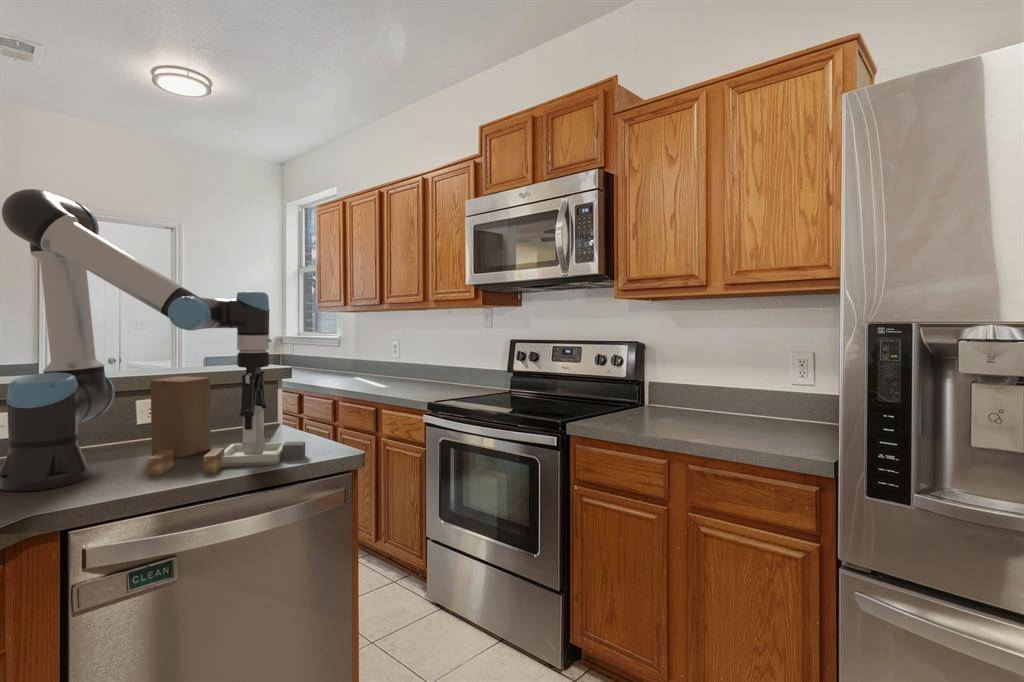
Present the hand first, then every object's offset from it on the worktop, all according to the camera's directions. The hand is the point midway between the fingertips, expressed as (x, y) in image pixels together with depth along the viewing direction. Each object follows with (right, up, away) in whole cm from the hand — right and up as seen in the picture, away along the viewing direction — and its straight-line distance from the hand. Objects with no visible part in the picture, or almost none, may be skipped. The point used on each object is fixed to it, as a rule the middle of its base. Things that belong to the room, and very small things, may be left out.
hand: (253, 437), depth 144 cm
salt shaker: (0, -5, 0) cm, 5 cm away
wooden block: (-22, -5, +5) cm, 23 cm away
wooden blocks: (-11, -6, -11) cm, 16 cm away
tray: (0, -6, 0) cm, 6 cm away
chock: (+10, -6, +2) cm, 12 cm away
